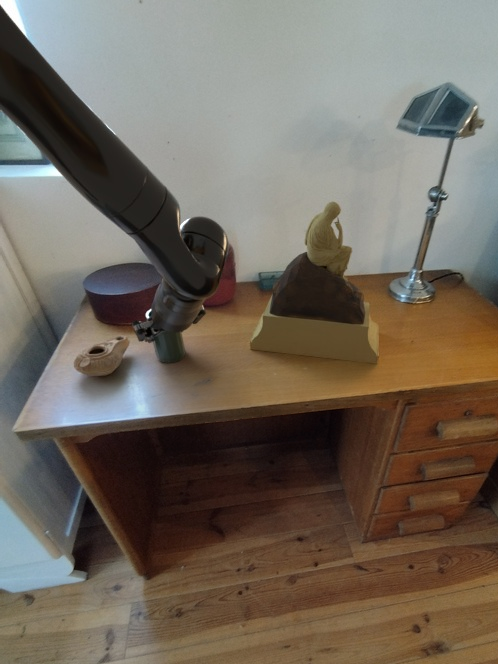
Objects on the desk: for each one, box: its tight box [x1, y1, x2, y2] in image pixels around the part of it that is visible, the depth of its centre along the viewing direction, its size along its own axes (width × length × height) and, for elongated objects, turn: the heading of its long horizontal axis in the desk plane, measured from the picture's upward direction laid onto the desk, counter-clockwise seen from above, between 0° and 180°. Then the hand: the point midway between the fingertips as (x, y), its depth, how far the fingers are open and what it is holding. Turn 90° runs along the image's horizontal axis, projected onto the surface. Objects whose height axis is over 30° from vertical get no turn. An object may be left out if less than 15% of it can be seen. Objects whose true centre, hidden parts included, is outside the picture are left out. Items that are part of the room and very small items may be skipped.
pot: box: [144, 308, 186, 364], centre depth 79 cm, size 6×6×10 cm
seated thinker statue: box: [249, 201, 380, 365], centre depth 78 cm, size 28×13×30 cm, turn 81°
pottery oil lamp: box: [73, 335, 131, 377], centre depth 77 cm, size 9×12×7 cm
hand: (163, 333), depth 80 cm, fingers closed on pot, 6 cm apart
